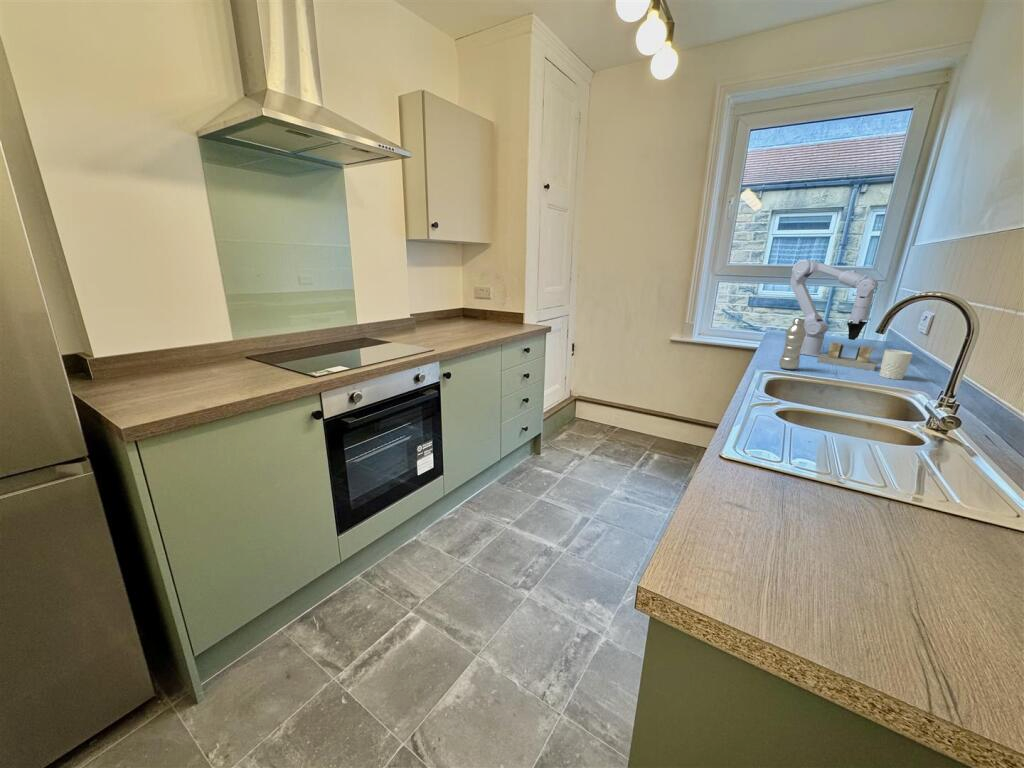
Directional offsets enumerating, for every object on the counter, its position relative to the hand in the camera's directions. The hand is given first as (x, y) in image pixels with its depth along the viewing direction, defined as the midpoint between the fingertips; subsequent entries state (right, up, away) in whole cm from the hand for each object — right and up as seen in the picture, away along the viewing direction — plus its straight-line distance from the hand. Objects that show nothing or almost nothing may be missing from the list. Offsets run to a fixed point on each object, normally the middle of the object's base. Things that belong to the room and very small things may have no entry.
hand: (852, 338), depth 178 cm
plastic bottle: (-39, -14, -15) cm, 44 cm away
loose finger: (-11, -9, -2) cm, 14 cm away
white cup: (-5, -17, -23) cm, 29 cm away
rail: (-7, -12, -5) cm, 15 cm away
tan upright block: (-4, -11, -9) cm, 15 cm away
